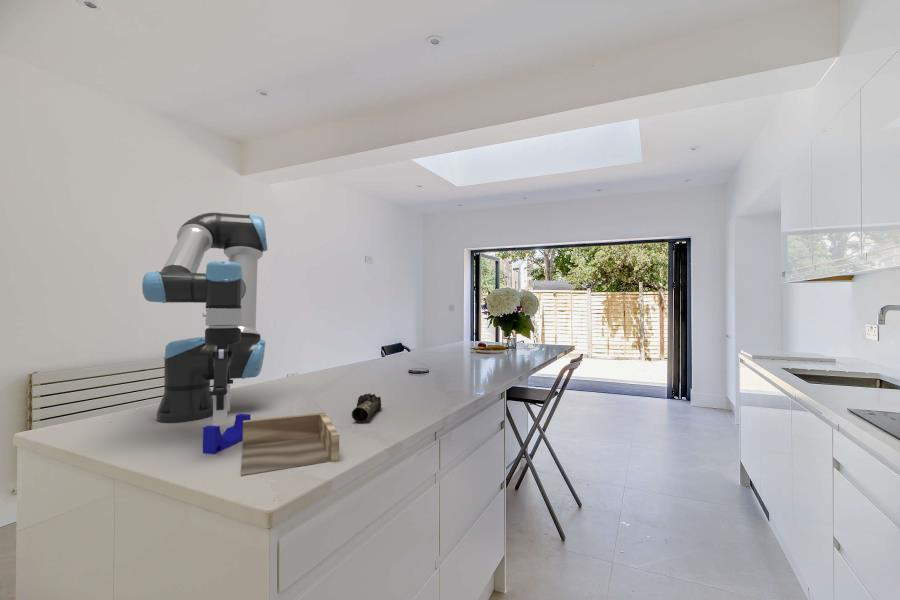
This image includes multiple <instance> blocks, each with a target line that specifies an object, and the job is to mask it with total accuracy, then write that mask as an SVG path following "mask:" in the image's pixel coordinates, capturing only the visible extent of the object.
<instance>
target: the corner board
mask: <svg viewBox="0 0 900 600" xmlns="http://www.w3.org/2000/svg"><path fill="white" fill-rule="evenodd" d="M336 461H337V462H338V461H340V433H339V431H338V430H337V429H336V427H335V426H334V424H333V423H332V421H331V420H330V419H329V416H328V415H327V414H326V412H318V413H309V414H298V415H287V416H278V417H277V416H276V417H267V418H260V419H258V418H257V419H256V418H255V419H251V420H246V421H243V441H242V452H241V465H240V466H241V468H240V477H245V476H250V475H252V476H253V475H259V474H264V473H270V472H275V471H277V472H278V471H281V470H283V471H284V470H288V469H289V470H290V469H294V468H295V469H296V468H299V467H307V466H314V465H320V464H326V463H333V462H336Z"/></svg>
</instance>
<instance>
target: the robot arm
mask: <svg viewBox="0 0 900 600" xmlns="http://www.w3.org/2000/svg"><path fill="white" fill-rule="evenodd" d="M176 240H177V241H176V243H175V245H174V247H173V249H172V250H171V252H170V254H169V256H168V258H167V260H166V261H165V263H164V265H163V267H162V269H161V271H158V270H156V271H148V272H146V273H145V274H144V275H143V278H142V284H141V285H142V286H141V287H142V288H141V289H142V295H143V298H144V299H145V300H146V301H147V302H150V303H162V304H167V303H169V304H170V303H173V304H174V303H180V304H181V303H186V304H187V303H196V304H197V303H199V304H200V303H203V304H205V312H202V318H205V323H204V324H205V326H207V327H208V328H206V329H204V336H198V337H191V338H185V339H179V340H174V341H170V342H168V343H167V344H166V345H165V348H164V349H165V350H164V357H163V360H164V379H163V380H164V382H163V383H164V392H163V395H162V398H161V400H160V403H159V406H158V408H157V410H156V421H157V422H160V423H164V422H165V423H168V424H176V423H187V422H189V421H190V422H195V420H196V421H201V420H204V418H205V419H208V418H210V417H212V426H220V425H221V426H222V425H228V412H230V411H231V385H233V384H234V380H235V379H236V380H237V379H242V380H243V379H244V380H245V379H250V378H256V377H258V376H259V375H260V374H261V372H262V369H263V363H264V357H265V350H266V349H265V348H266V340H264V339H261V337H262V336H261V333H259V331H257V330H256V329H257V328H256V327H257V322H256V321H257V296H258V295H257V294H258V292H257V290H258V262H259V260H260V259H261V258H262V257H263V255H264V252H266V251H268V243H267V241H268V240H267V233H266V225H265V221H264V218H263V217H261V216H259V215H252V214H237V213H235V214H234V213H225V212H224V213H222V212H206V213H202V214H199V215H197V216H193V217H192V218H190V219H188V220H187V221H185V222H184V223H183V224H181V226H180V227H179V229H178V231H177V234H176ZM210 249H221V250H222V249H223V255H225V256H226V257H227V258H228V261H225V260H224V261H222V260H215V261H214V260H213V261H209V262H208V263H206V271H205V272H198V271H199V267H200V265H201V263H202V261H203V259H204V256H205V254H206V252H207V251H208V250H210ZM211 380H213V387H212V388H213V389H212V390H211ZM200 419H201V420H200ZM165 423H164V424H165Z"/></svg>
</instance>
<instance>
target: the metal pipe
mask: <svg viewBox="0 0 900 600" xmlns="http://www.w3.org/2000/svg"><path fill="white" fill-rule="evenodd" d="M380 409H382V399H381V396H376V394H375V393H373V394H371V392H370V393H364V394H361V395H360V396H358V399H357V403H356V407H354V408H353V410H352V411H351V418H352V419H353V420H354V421H355V422H356V423H360V424H364V423H366V422H367V421H368V420H369V418H371V416H372V415H373V414H374V413H375V412H380Z"/></svg>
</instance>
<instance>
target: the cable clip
mask: <svg viewBox="0 0 900 600" xmlns="http://www.w3.org/2000/svg"><path fill="white" fill-rule="evenodd" d="M246 420H252V418H251V414H248V413H238V414H235V419H234V424H233V425H231V426H229V427H227V428H226V430H225V431H224V432H223V434H222V432H221V426H220V425H205V426H203V427H202V432H203V433H202V454H206V455H207V454H209V455H216V454H218V453H220V452H222V451H224V450H226V449H228V448H230V447H233V446H235V445H237V444H240V443H241V442H243V421H246Z"/></svg>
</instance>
